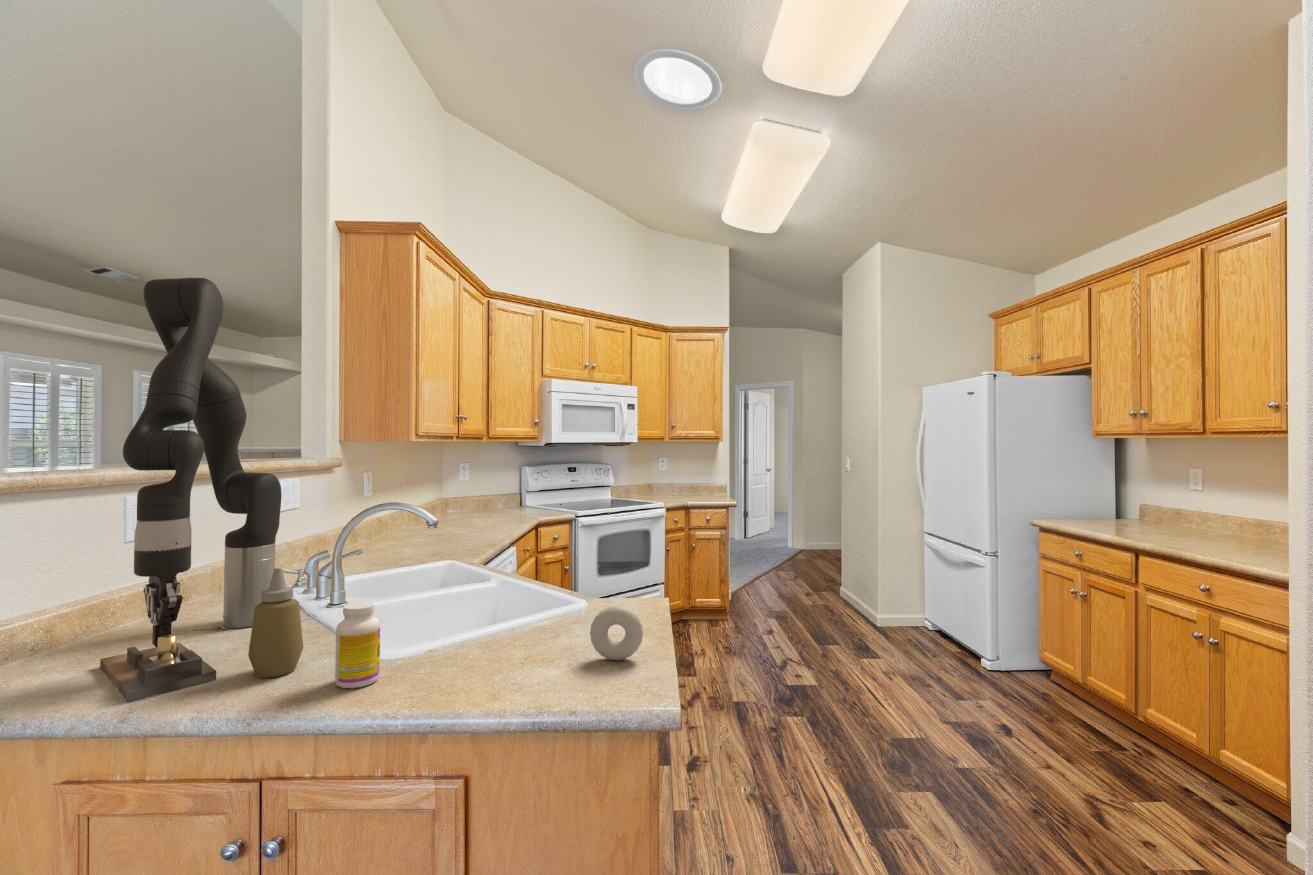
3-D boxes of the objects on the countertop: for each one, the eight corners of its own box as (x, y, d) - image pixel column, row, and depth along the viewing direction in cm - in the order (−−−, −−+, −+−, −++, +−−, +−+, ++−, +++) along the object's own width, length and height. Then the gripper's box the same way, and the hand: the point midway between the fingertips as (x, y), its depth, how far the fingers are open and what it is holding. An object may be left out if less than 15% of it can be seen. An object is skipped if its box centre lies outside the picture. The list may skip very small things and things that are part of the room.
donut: (643, 656, 110) (643, 604, 110) (642, 663, 106) (643, 609, 106) (590, 656, 110) (591, 603, 110) (588, 662, 106) (589, 608, 106)
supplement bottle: (384, 682, 96) (386, 605, 96) (340, 693, 92) (342, 613, 92) (372, 670, 101) (374, 597, 102) (330, 680, 97) (332, 604, 97)
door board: (179, 650, 110) (179, 628, 110) (216, 679, 97) (216, 654, 97) (100, 667, 101) (100, 643, 102) (128, 702, 88) (129, 674, 88)
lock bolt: (171, 664, 99) (172, 629, 99) (184, 676, 94) (185, 639, 94) (148, 669, 97) (149, 633, 97) (161, 681, 92) (162, 644, 92)
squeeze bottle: (243, 685, 95) (245, 575, 95) (251, 667, 102) (253, 566, 102) (301, 676, 99) (303, 571, 99) (304, 660, 106) (306, 562, 106)
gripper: (202, 546, 98) (201, 647, 98) (179, 538, 106) (177, 631, 106) (145, 552, 92) (143, 660, 92) (124, 543, 100) (123, 642, 100)
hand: (161, 645), depth 99 cm, fingers closed
